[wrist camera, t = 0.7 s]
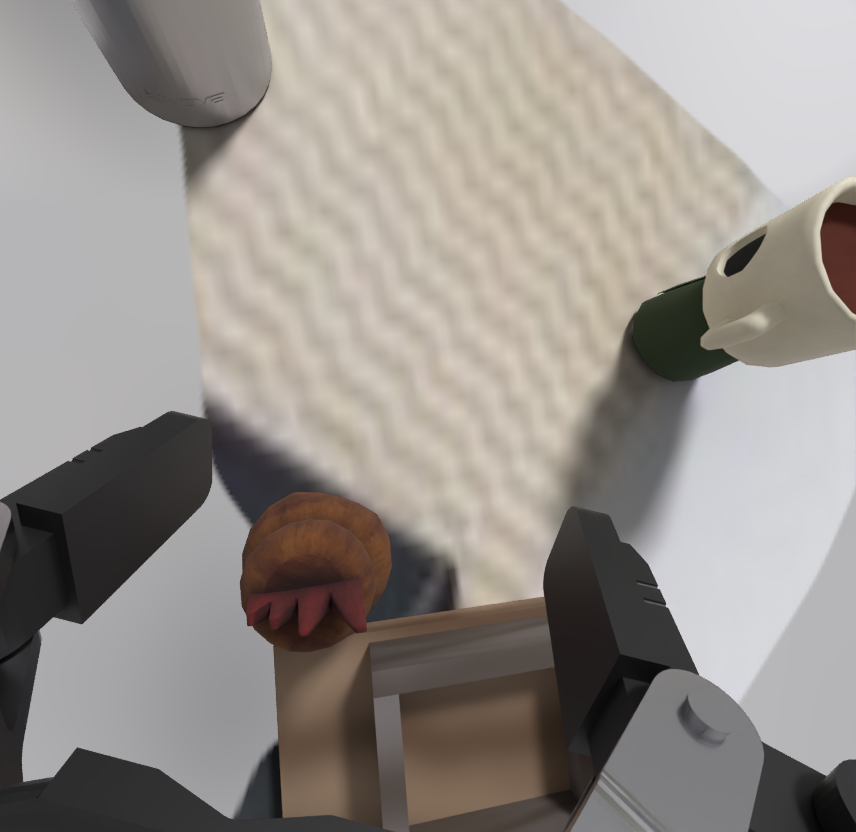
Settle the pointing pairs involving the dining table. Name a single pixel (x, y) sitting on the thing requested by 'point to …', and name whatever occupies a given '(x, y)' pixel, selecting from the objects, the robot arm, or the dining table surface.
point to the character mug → (763, 296)
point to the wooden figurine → (313, 570)
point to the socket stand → (431, 725)
